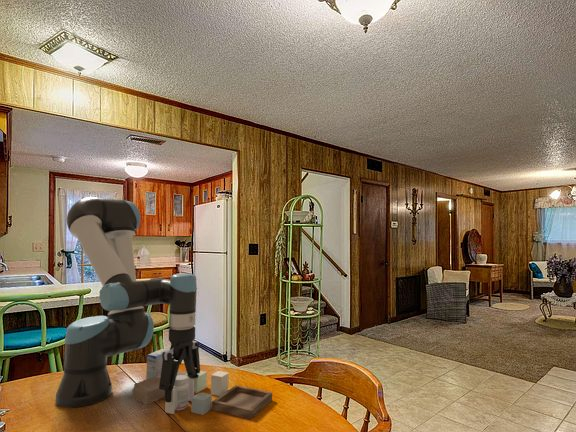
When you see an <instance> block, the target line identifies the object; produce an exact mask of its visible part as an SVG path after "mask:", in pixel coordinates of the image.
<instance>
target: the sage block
mask: <svg viewBox="0 0 576 432" xmlns="http://www.w3.org/2000/svg"><path fill="white" fill-rule="evenodd" d="M185 375H186V376H187V377H188V375H187V374H185ZM198 375H199V376H198V378H195V388H194V394H199V393H200V392H201V391H203V390H205V389H206V388H207V387H208V385H207V383H208V381H207V380H208V372H207V371H205V370H200V373H199V374H198Z"/></svg>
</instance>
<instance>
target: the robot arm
mask: <svg viewBox="0 0 576 432" xmlns="http://www.w3.org/2000/svg"><path fill="white" fill-rule="evenodd" d="M66 215H67V216H66V225H67V229H68V231H69V233H70V234H71V236H72V237H74V238H76V239H77V240H78V242H79V244H80V245H81V247H82V249H83V251H84V253H85V255H86V257H87V259H88V260H89V262H90V265H91V266H92V268H93V271H94V272H95V274H96V275H97V277H98V279H99V282H100V283H101V285H102V287H101V289H100V291H99V296H98V297H99V300H100V302H99V303H100V306H101V307H102V309H104V311H108V313H107V316H106V315H96V316H89V317H84V318H81V319H77V320H75V321H73V322H72V323H70V324H69V325H68V326H67V328H66V331H65V332H66V333H65V338H64V362H63V364H64V365H63V375H62V377H61V380H60V383H59V386H58V389H57V391H56V393H55V400H54V401H55V404H56V405H57V406H59V407H63V408H80V407H85V406H89V405H90V406H91V405H93V404H97V403H99V402H102V401H104V400H106V399H107V398H109V397H110V396H111V395H112V393H113V391H112V390H113V384H112V381H111V377H110V374H109V371H108V368H107V367H108V357H113V356H116V355H120V354H124V353H127V352H129V353H130V352H131V351H133V352H134V351H136V350H139V349H142V348H145V347H146V346H147V345H148V344H149V343H150V342H151V340H152V338H153V335H154V329H155V325H154V320H153V317H152V316H151V314H149V312H145V307H147V306H153V305H159V304H164V305H169V317H168V318H169V319H168V326H169V329H168V341H169V343H170V348H169V349H168V350H169V351H168V352H163V353H162V359H163V363H162V370H161V377H160V384H159V389H161V390H165V397H164V403H165V407H164V411H165V413H167V414H171V415H174V414H175V413H176V410H175V389H173V387H174V383H175V380H176V376H177V372H178V370H179V368H180V365H182V364H183V363H184V367H185V370H186V371H185V372H187V375H188V381H187V383H188V384H189V390H188V402H191V403H192V397H194V396H195V392H194V388H195V378H198V376H199V375H198V374H199V373H200V371H201V364H200V363H201V362H200V352H199V350H200V341H195V339H196V327H195V325H196V313H197V309H196V308H197V290H198V286H197V277H196V275H195V274H193V273H175V274H172V275H171V276H170V279H168V278H163V277H154V278H153V277H151V278H150V279H146V280H137V276H136V267H135V257H134V251H133V250H134V249H133V243H132V242H133V241H132V238H133V237H134V236H135V235H136V231H137V230H138V228H139V227H140V225H141V224H140V223H141V213H140V210H139V208H138V206H137V205H136V204H135V203H133V202H132V201H130V200H129V201H128V200H124V199H115V198H114V199H112V198H105V197H96V196H89V197H84V198H81V199H79V200H77V201H76V202H75V203H74V204H73V205H72V206H71V207H70V208H69V210H68V213H67V214H66ZM169 384H170V385H169Z"/></svg>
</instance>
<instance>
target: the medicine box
mask: <svg viewBox="0 0 576 432" xmlns="http://www.w3.org/2000/svg"><path fill="white" fill-rule="evenodd" d="M169 350H170V349H167V348H161V349H159V350H156V351H153V352H151V353H148V354H147V356H146V372H145V373H146V375H145V376H146V378H145V380H146V379H149V378H153V377H156V376H160V375H161V370H162V363H163V359H162V353H163V352H168V351H169Z"/></svg>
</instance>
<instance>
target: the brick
mask: <svg viewBox="0 0 576 432" xmlns="http://www.w3.org/2000/svg"><path fill="white" fill-rule="evenodd" d="M185 374H187V371H183V370H179V369H178V372H177V376H178V375H185ZM160 377H161V375H160V376H156V377H153V378H149V379H146V378H145V379H144V380H142V381H141V380H140V381H139V382H136V383H134V384H133V388H132V398H133V399H134V400H137V401H138V402H140V403H141V404H144V405H149V404H151V403H154V402H157V401H158V400H160V399H165V390H161V389H159V384H160ZM169 385H170V384H169Z"/></svg>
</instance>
